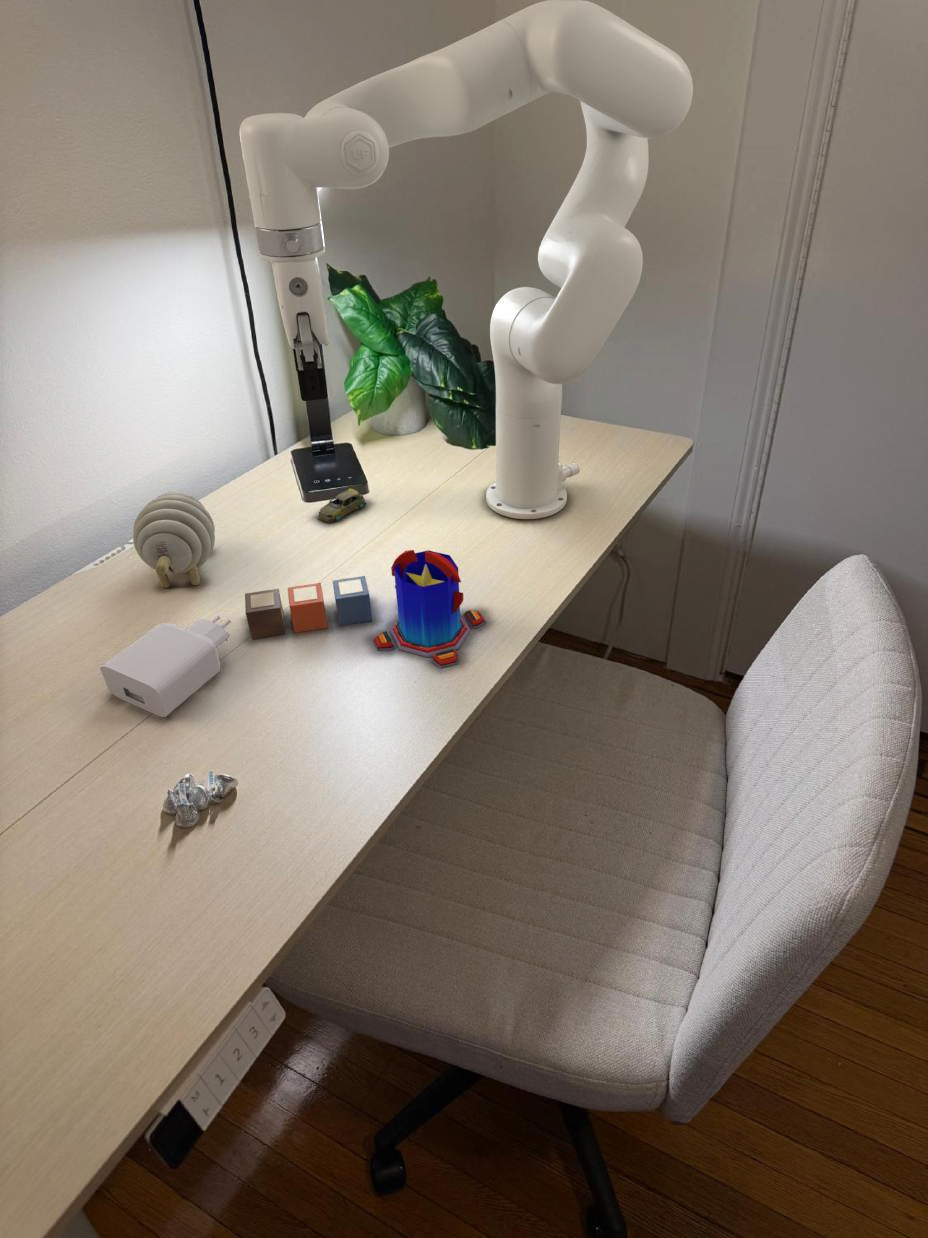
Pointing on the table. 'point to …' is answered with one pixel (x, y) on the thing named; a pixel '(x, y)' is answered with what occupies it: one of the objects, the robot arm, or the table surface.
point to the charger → (166, 665)
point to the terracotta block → (307, 607)
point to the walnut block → (264, 614)
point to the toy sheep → (174, 536)
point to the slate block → (352, 600)
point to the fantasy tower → (428, 608)
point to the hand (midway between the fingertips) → (311, 384)
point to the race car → (341, 505)
